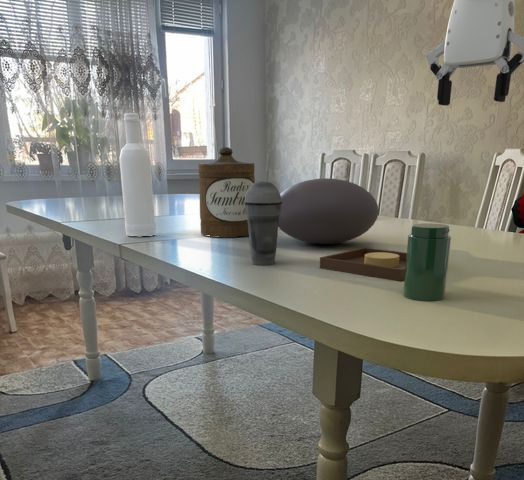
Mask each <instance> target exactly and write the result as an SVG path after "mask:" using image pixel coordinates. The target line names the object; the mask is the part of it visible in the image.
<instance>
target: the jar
mask: <svg viewBox="0 0 524 480" xmlns="http://www.w3.org/2000/svg"><path fill="white" fill-rule="evenodd" d="M450 231H451V229H450V225H448V224H443V223H431V222H430V223H428V222H427V223H425V222H424V223H423V222H422V223H413V224H411V232H410V234H408V236H407V245H406V247H407V248H406V253H407V257H406V269H405V280H403V281H404V282H403V295H402V296H403V297H405V298H407V299H410V300H414V301H422V302H435V301H442V300H443V299H445V295H446V286H447V278H448V277H447V276H448V268H449V261H450V260H449V258H450V250H451V241H452V236H451V235H449V234H450Z"/></svg>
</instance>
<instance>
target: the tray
mask: <svg viewBox="0 0 524 480" xmlns="http://www.w3.org/2000/svg"><path fill="white" fill-rule="evenodd" d="M374 252H385V253H394V254H398V255H399V256H400V258H399V266H397V267H386V266H379V265H372V264H366V263H364V258H365V254H367V253H374ZM406 257H407V252H404V251H398V250H396V251H395V250H388V249H380V248H371V247H364V246H363V247H361V248H355V249H352V250H346V251H342V252H338V253H334V254H330V255H326V256H321V257H319V269H325V270H331V271H335V272H342V273H348V274H353V275H360V276H367V277H373V278H377V279H378V278H379V279H386V280H391V281H397V282H403V281H405V269H406Z"/></svg>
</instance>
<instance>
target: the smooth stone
mask: <svg viewBox="0 0 524 480" xmlns="http://www.w3.org/2000/svg"><path fill="white" fill-rule="evenodd" d="M280 196H281V202H282V204H281V210H280V214H279V222H278V229H280V230H281V232H283V233H284V234H286V235H287V236H288V237H291V238H293V239H295V240H297V241H301V242H304V243H308V244H314V245H315V244H316V245H333V244H340V243H345V242H348V241H352V240H355V239H356V238H359V237H361V236H362V235H364V234H365V233H367V232H368V231H369V230H370V229H371V228H372V227H373V226H374V225H375V223H376V222H377V220H378V217H379V204H378V202H377V200H376V199H375V197H374V196H373V194H372V193H371V192H370V191H368V190H367V189H366V188H364V187H362V186H361V185H359V184H357V183H354V182H351V181H349V180H345V179H338V178H313V179H308V180H304V181H301V182H298V183H295V184H293V185H291V186H289V187H287V188H286V189H284V191H282V192H280Z"/></svg>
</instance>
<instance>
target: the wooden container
mask: <svg viewBox="0 0 524 480" xmlns="http://www.w3.org/2000/svg"><path fill="white" fill-rule="evenodd" d="M218 153H219V155H220V156H219V157H218V159H217V160H215V161H212V162H203V163H198V165H197V167H198V168H197V169H198V182H199V183H198V184H199V185H198V186H199V219H200V234H201V235H202V234H203V235H210V236H219V237H235V238H237V237H236V236H245V237H248V236H247V235H249V231H248V221H247V214H246V210H245V204H244V202H245V195H246V192H247V190H248V189H249V187H250V186H251V185H252V184H254V183H256V178H255V177H256V176H255V162H245V161H244V162H243V161H238V160H236V159H235V158H234V157H233V153H234V152H233V148H230V147H227V146H223V147H222V148H220V149H219V151H218ZM203 235H202V236H203Z"/></svg>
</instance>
